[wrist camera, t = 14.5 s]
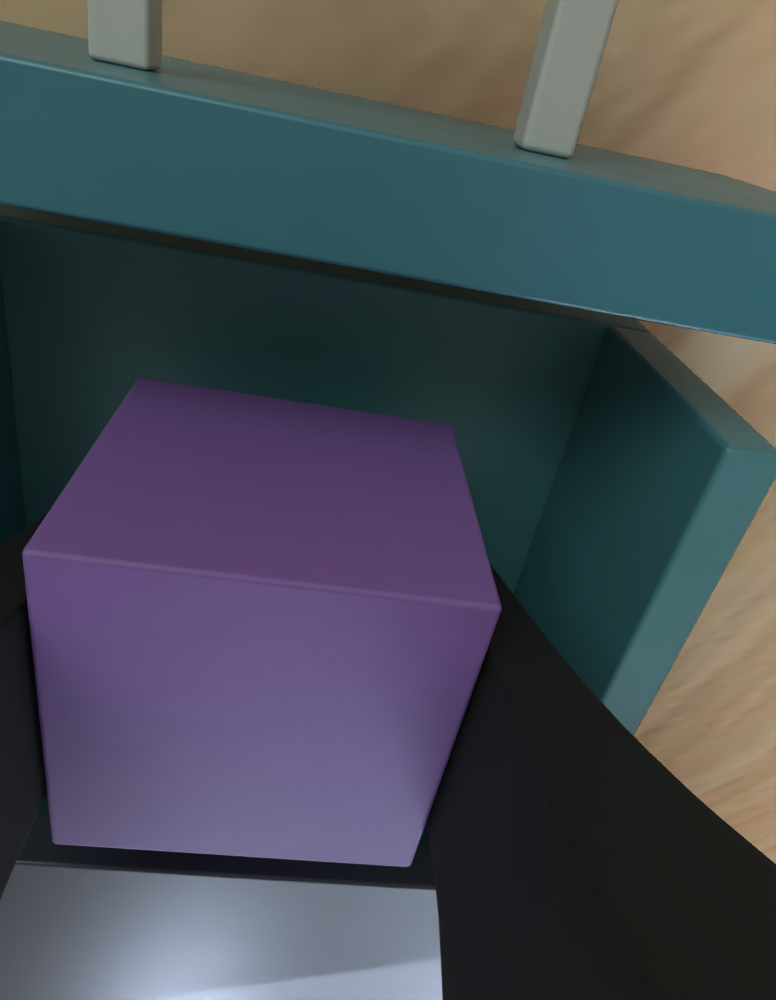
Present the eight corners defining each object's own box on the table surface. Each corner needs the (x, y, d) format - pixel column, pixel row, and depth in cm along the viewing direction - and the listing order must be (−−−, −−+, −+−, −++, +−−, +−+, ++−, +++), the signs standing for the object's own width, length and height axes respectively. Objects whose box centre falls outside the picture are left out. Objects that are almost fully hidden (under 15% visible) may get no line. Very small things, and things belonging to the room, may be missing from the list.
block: (136, 619, 12) (50, 845, 8) (137, 375, 10) (18, 551, 6) (395, 647, 12) (411, 869, 9) (453, 423, 10) (504, 609, 7)
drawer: (-178, -549, 8) (-1136, -1645, 3) (882, -222, 9) (1470, -532, 4) (-4, 668, 17) (-146, 914, 12) (506, 717, 19) (560, 949, 14)
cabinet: (-31, 528, 16) (-287, 843, 10) (559, 599, 18) (675, 903, 11) (23, 884, 24) (-101, 1195, 17) (433, 908, 25) (461, 1195, 19)
